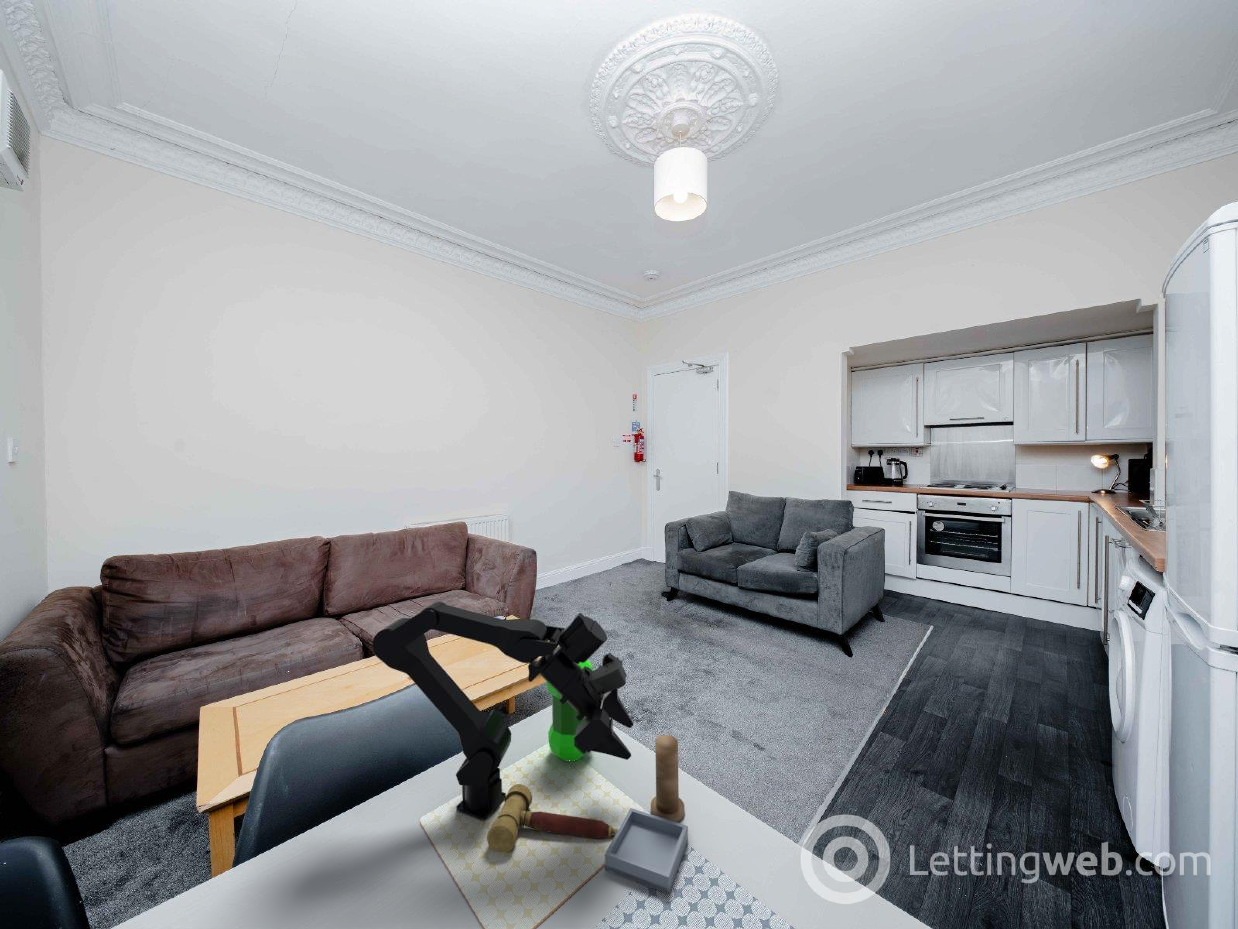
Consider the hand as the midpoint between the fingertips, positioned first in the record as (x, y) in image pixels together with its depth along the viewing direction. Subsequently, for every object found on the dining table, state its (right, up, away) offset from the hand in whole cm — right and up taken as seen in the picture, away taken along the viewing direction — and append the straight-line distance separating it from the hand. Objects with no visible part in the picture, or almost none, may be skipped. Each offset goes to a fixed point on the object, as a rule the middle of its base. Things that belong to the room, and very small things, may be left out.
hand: (630, 741), depth 84 cm
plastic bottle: (-12, -13, +16) cm, 24 cm away
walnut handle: (+7, -12, 0) cm, 14 cm away
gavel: (-13, -13, -4) cm, 19 cm away
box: (+2, -13, -9) cm, 16 cm away
